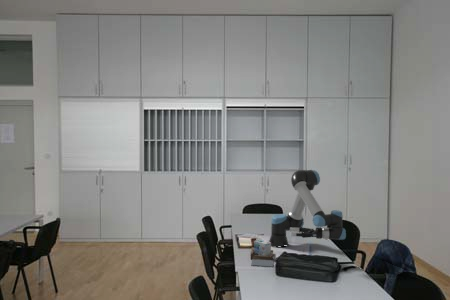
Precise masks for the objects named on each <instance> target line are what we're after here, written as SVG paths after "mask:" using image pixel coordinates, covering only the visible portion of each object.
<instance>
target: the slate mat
mask: <svg viewBox="0 0 450 300" xmlns="http://www.w3.org/2000/svg"><path fill="white" fill-rule="evenodd" d="M250 266H251V267H263V268H264V267H265V268H274V259H273V260H261V259H251V265H250Z"/></svg>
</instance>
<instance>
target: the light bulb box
mask: <svg viewBox="0 0 450 300" xmlns="http://www.w3.org/2000/svg"><path fill="white" fill-rule="evenodd" d="M253 247H254V255H258V256H271V250H272V246H271V242H269V241H267V240H263V239H257V240H254V241H253Z"/></svg>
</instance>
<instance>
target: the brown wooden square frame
mask: <svg viewBox="0 0 450 300" xmlns="http://www.w3.org/2000/svg"><path fill="white" fill-rule="evenodd" d="M252 259H261V260H273V261H274V250H272V249H271V256H258V255H254V246H251V250H250V260H252Z"/></svg>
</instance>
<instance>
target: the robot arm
mask: <svg viewBox="0 0 450 300" xmlns="http://www.w3.org/2000/svg"><path fill="white" fill-rule="evenodd" d="M290 181H291V186H292V187H293V189H294V190H295V191H297V195H296V197H295V200H294V202H293V206H292V209H291V210H290V211H288V213H287V215H286V214H284V213H281V214H280V213H279V214H274V215H272V217H271V220H270V221H271V227H270V229H271V231H270V233H271V234H270V238H269V241H268V242H271V247H273V246H284V245H287V244H288V245H289V241H288V237H287V232H288V231H289V232H290V237H298V238H303V239H304V238H316V239H321V240H322V239H324V240H337V241H340V240H345V239H346V237H347V233H346V232H347V231H346V229H345V228H344V227H343V219H344V218H343V216H344V215H343V211H341V210H337V209H334V210H333V209H332V210H331V211H330V213H328V214H326V213H325V212H324V211H323V209H322V207H321V206H320V204H319V203H318V201H317V200H316V198H315V197H314V195H313V193H312V192H311V191H313V190H314V188H315V186H317V185H319V184H320V182H321V176H320V174H319V172H318V171H316V170H314V169H313V170H312V169H303V170H298V169H297V170H295V171H294V173H293V174H292V175H291V180H290ZM305 207H307V209H308V210H309V212H310V213H311V216H313V217H312V222H313V225H314V226H315V229H314V228H309V227H303V226H304V223H305V222H304V221H305V220H304V216H303V212H304V211H305ZM328 226H330V227H328Z"/></svg>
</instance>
